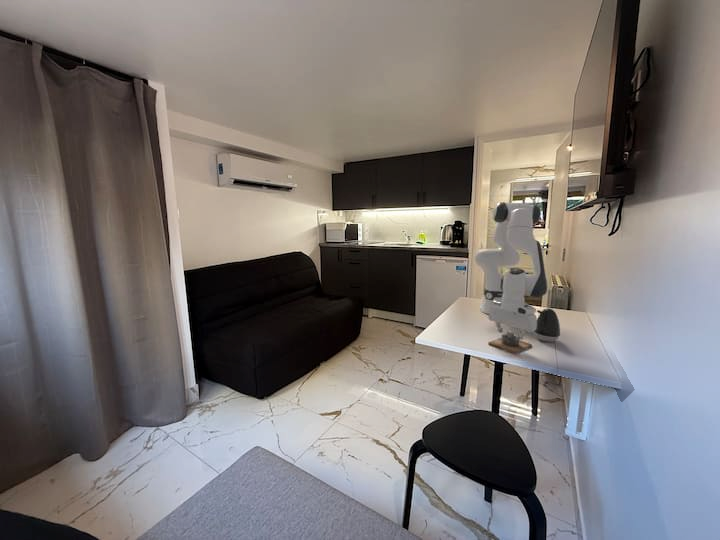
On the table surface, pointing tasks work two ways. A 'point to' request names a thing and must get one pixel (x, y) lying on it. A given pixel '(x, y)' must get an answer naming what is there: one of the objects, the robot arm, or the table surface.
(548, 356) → the table surface
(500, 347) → the piston stand
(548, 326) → the black rounded piece
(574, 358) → the table surface
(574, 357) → the table surface
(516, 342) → the ring
